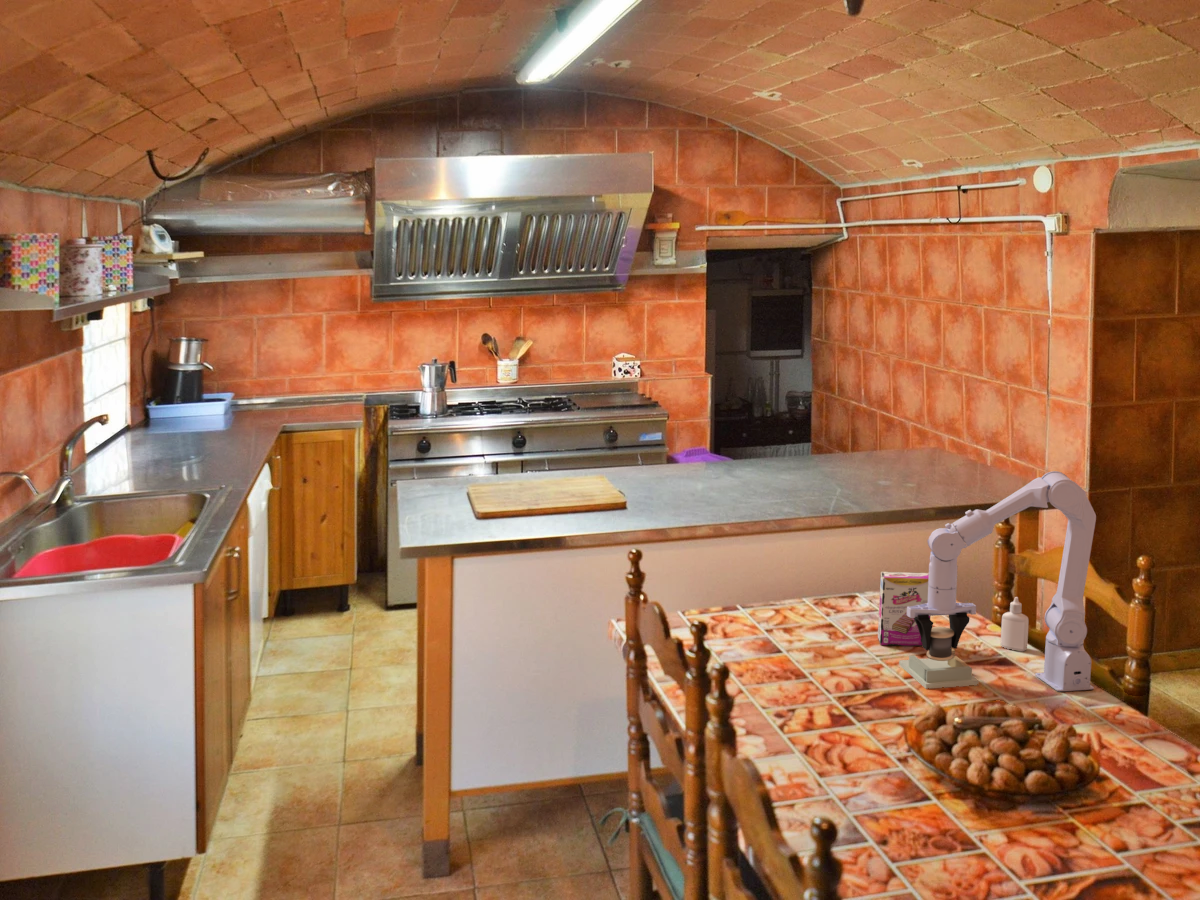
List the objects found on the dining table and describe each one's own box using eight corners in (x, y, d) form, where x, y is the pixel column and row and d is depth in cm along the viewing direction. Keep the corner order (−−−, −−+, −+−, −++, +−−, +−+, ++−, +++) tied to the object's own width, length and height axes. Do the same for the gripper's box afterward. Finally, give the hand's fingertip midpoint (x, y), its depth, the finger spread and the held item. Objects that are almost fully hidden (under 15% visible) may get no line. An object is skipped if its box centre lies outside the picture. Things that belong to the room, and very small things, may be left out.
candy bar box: (880, 646, 259) (882, 577, 256) (877, 638, 263) (879, 571, 261) (930, 647, 257) (933, 578, 255) (926, 640, 262) (929, 571, 260)
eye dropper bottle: (1014, 653, 253) (1017, 602, 251) (997, 645, 258) (999, 595, 256) (1030, 650, 254) (1033, 599, 252) (1012, 643, 260) (1015, 592, 257)
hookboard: (978, 685, 235) (979, 664, 234) (925, 688, 233) (926, 668, 232) (948, 661, 248) (949, 641, 248) (899, 664, 247) (899, 645, 246)
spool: (958, 659, 237) (958, 634, 236) (933, 662, 236) (933, 637, 235) (946, 649, 242) (946, 625, 241) (922, 652, 242) (921, 628, 240)
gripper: (966, 578, 241) (963, 639, 244) (901, 582, 239) (899, 643, 242) (981, 588, 234) (978, 650, 237) (915, 591, 232) (912, 654, 235)
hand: (939, 647), depth 239 cm, fingers closed on spool, 5 cm apart
